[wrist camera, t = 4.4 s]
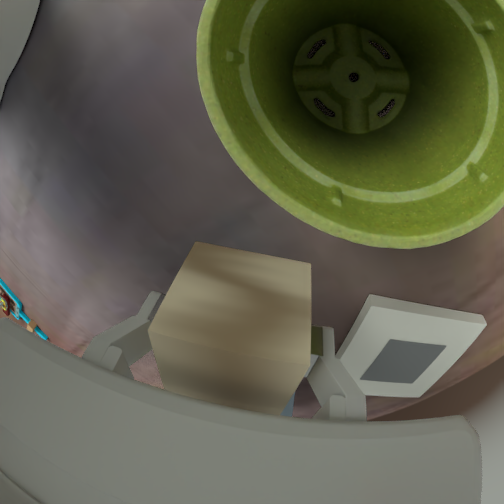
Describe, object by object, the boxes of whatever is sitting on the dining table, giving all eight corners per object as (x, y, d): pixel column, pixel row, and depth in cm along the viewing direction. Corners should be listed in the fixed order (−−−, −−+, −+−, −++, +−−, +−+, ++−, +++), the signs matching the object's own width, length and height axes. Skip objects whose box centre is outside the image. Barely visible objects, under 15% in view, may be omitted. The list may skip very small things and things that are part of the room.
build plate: (319, 379, 25) (319, 390, 24) (369, 293, 18) (371, 306, 17) (417, 388, 24) (419, 398, 23) (482, 314, 17) (487, 325, 16)
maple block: (196, 316, 15) (166, 395, 11) (195, 241, 12) (147, 330, 8) (286, 335, 15) (277, 419, 11) (310, 263, 12) (310, 365, 8)
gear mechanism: (46, 343, 39) (51, 329, 34) (31, 363, 35) (34, 353, 30) (-19, 270, 33) (-21, 245, 29) (-36, 287, 29) (-41, 263, 24)
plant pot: (361, 196, 15) (399, 303, 8) (224, 93, 13) (131, 109, 6) (460, 86, 10) (571, 111, 3) (325, -28, 8) (334, -121, 1)
